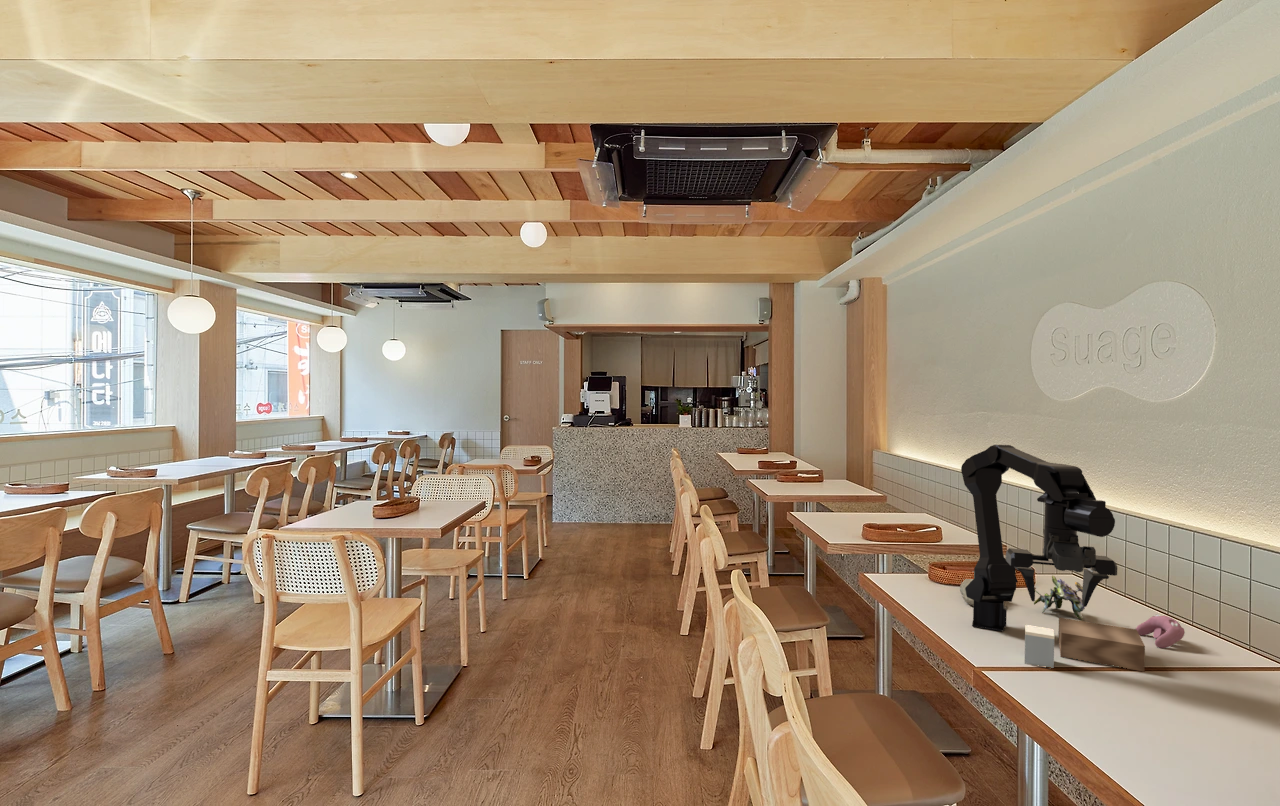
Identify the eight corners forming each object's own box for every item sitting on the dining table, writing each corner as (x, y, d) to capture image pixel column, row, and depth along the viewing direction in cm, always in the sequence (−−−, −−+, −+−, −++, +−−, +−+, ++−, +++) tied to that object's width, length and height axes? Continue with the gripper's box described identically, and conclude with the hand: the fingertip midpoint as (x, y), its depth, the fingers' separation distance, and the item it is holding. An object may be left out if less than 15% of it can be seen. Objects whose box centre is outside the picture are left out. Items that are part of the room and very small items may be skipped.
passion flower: (1077, 640, 167) (1096, 609, 160) (1028, 626, 171) (1045, 596, 164) (1072, 604, 176) (1090, 574, 169) (1025, 592, 179) (1041, 562, 172)
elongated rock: (998, 586, 202) (961, 584, 206) (998, 568, 202) (961, 566, 206) (1003, 611, 170) (959, 607, 175) (1002, 590, 171) (958, 586, 175)
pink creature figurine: (1176, 657, 146) (1193, 629, 146) (1155, 646, 147) (1172, 618, 147) (1151, 641, 156) (1167, 615, 156) (1131, 631, 157) (1147, 605, 156)
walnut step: (1060, 656, 140) (1061, 632, 140) (1058, 640, 151) (1058, 617, 151) (1144, 671, 134) (1145, 646, 134) (1135, 652, 144) (1136, 629, 144)
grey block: (1024, 663, 136) (1025, 631, 136) (1024, 656, 141) (1025, 624, 141) (1053, 669, 134) (1054, 636, 134) (1052, 661, 138) (1053, 629, 138)
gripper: (1017, 530, 134) (1015, 609, 134) (1128, 538, 128) (1126, 621, 128) (1006, 521, 144) (1004, 594, 144) (1108, 528, 139) (1106, 604, 139)
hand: (1058, 603), depth 139 cm, fingers open, 9 cm apart
